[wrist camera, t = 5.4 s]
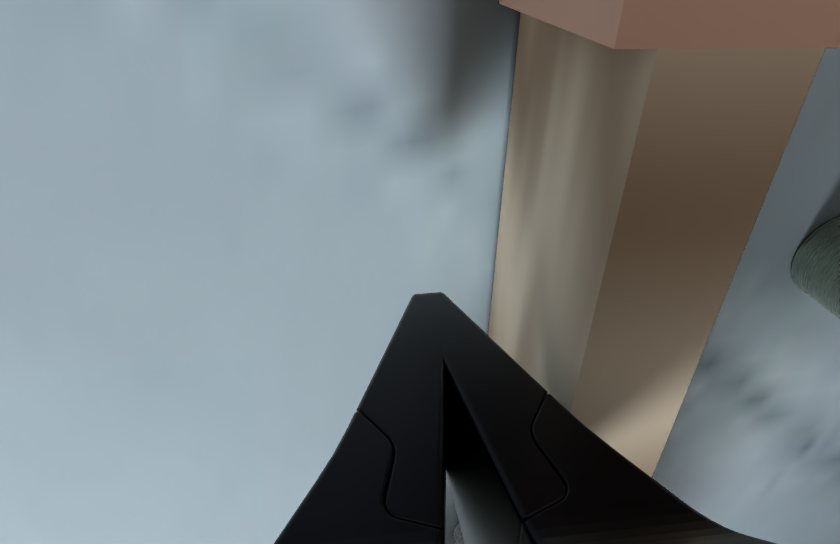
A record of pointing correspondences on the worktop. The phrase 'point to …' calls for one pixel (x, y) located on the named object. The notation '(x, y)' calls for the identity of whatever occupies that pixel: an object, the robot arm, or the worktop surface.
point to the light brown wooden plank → (639, 190)
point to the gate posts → (804, 278)
